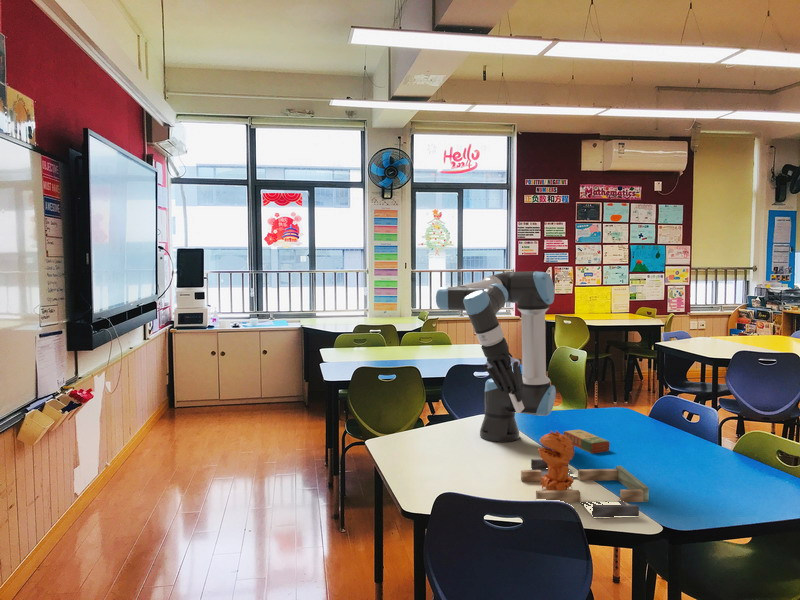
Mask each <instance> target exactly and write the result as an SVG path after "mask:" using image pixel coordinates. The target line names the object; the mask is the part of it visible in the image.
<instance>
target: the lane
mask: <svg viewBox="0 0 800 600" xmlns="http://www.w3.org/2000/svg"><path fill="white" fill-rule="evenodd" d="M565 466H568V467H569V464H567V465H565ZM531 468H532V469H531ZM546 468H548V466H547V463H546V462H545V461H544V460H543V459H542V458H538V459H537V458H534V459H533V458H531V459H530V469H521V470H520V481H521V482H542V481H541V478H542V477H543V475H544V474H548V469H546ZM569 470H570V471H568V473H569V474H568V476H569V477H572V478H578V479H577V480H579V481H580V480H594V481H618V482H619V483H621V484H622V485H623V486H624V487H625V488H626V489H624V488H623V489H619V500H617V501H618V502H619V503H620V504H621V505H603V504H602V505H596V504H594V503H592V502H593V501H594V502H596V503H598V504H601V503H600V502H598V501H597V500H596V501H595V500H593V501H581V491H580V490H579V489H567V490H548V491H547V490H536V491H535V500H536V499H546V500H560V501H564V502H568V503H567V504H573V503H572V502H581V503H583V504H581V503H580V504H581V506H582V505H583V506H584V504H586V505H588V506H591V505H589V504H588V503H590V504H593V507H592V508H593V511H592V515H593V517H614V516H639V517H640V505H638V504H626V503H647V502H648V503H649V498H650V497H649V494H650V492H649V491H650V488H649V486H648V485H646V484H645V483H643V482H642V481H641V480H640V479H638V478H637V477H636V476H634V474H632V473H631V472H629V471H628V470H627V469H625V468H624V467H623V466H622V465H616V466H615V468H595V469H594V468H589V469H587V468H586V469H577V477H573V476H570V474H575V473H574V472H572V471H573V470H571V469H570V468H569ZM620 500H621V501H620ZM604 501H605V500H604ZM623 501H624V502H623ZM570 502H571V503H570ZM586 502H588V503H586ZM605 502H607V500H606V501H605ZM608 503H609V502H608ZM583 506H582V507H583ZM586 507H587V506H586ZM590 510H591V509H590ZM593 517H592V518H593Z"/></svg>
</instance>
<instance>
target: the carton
mask: <svg viewBox="0 0 800 600" xmlns="http://www.w3.org/2000/svg"><path fill="white" fill-rule="evenodd" d="M563 435H566V436H567V437H568V438H569V439H570V440H571V441H572V443H573V444H574V447H576V448H578V449H579V450H582V451H585V452H588V453H589V454H598V453H604V452H610V444H611V443H610V441H609V440H608V439H605V438H603V437H600V436H597V435H594V434H593V433H590V432H588V431H585V430H582V429H573V430H572V429H571V430H565V431H563Z"/></svg>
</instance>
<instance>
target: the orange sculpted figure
mask: <svg viewBox="0 0 800 600" xmlns="http://www.w3.org/2000/svg"><path fill="white" fill-rule="evenodd" d="M539 442H540V444H542V447H539V448H537V450H538V454H539V457H540V459H543V460H544V461H545V462H546V463H547V466H548V474H544V475H543V477H542V478H541V481H539V482H540V486H541V489H544V488H545V491H548V490H570V488H572V489H573V487H572V485H573V483H574V481H575V480H574V479H572V477H569V476H568V471H569V469H570V468H569V464H570V461H572V460H573V458H574V456H575V446H574V444H573V443H572V441H571V440H570V439H569V438H568V437H567V436H566V435H564V434H563V433H560V432H559V431H558V430H557V429H556V430H555V432H554V431H552V430H550V432H549V433H546V434H544V435H543V436H541V437H540V438H539ZM567 464H568V466H565V465H567Z"/></svg>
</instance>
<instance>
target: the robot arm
mask: <svg viewBox="0 0 800 600" xmlns="http://www.w3.org/2000/svg"><path fill="white" fill-rule="evenodd" d="M555 295H556V294H555V286H554V281H553V278H552V276H551V275H550V274H549V273H548V272H544V271H535V270H534V271H505V272H499V273H495V274H492V275H488V276H485V277H484V278H482V279H481V280H480V281H475V282H474V281H473V282H469V283H466V284H461V285H457V286H441V287H439V288H438V289H437V291H436V295H435V302H436V306H437V308H438V309H439V310H441V311H442V310H443V311H448V312H449V311H461V312H463V311H464V312H466V314H467V316H468V318H469V321H470V323H471V325H472V328H473V330H474V333H475V335H476V338H477V340H478V343H479V345H481V350H482V353H483V355H484V357H485V358H486V362H485V363H484V364H483V365H482V369H484V370H485V371H486V372H487V373H488V375H489V376H490V378H489V379H487V380H486V381H485V383H484V384H485V386H484V417H483V420H482V424H481V425H480V429H479V436H481V437H480V438H482V439H483V440H486V441H490V442H496V441H497V442H498V443H499V442H500V443H508V442H507V441H510V442H515V441H517V440H519V439H520V431H519V426H518V424H517V420H516V414H517V413H519V414H524V415H525V414H526V415H534V416H537V417H538V416H541V417H542V416H543V417H546V416H549V415H550V414H551V413H552V411H553V408H554V405H555V401H556V393H557V390H556V387H555V385H553V384H551V379H550V378H549V377H548V376H547V363H546V362H547V361H546V360H547V359H546V358H547V356H546V355H547V354H546V352H547V351H546V345H547V344H546V312H547V311H548V310H549V309H550V305H551V304H553V303H554V302H555V301H554V300H555ZM506 303H508V304H509V303H512V304H516V308H517V310H518V311H519V312H520V313H521V316H520V317H521V355H522V356H521V358H514V357H513V355H512V354H511V352H510V350H509V348H510V347H509V345H508V342H507V340H506V338H505V337H504V335H505V334H504V332H503V330H502V326H501V325H500V322H499V320H498V318H497V314H498V313H499V312H500V310H501V309H502V308H504V306H505V305H506ZM521 368H522V369H521ZM514 440H515V441H514ZM497 442H496V443H497Z"/></svg>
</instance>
